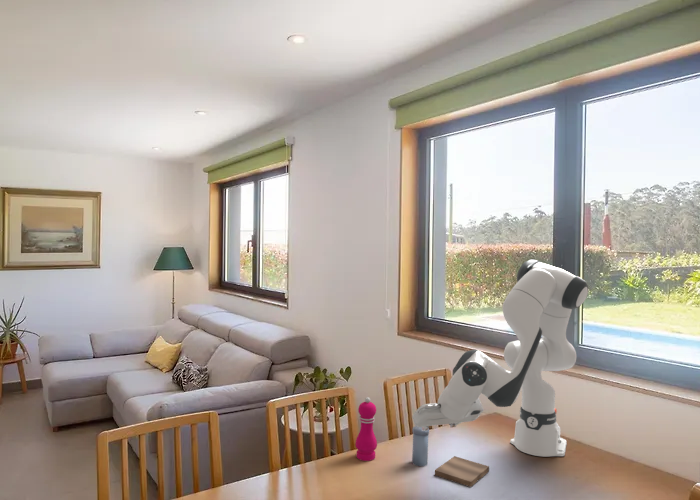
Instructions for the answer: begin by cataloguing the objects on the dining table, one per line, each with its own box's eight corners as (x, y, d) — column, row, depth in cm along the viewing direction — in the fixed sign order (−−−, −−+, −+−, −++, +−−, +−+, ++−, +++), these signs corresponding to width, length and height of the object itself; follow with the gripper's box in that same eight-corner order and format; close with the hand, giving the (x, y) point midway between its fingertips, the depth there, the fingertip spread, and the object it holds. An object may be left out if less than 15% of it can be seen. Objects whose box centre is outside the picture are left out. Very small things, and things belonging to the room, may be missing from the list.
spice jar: (416, 458, 173) (417, 424, 173) (431, 462, 169) (432, 428, 169) (408, 463, 168) (409, 429, 168) (423, 467, 165) (424, 433, 165)
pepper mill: (374, 462, 168) (376, 401, 168) (353, 460, 169) (355, 399, 169) (378, 454, 175) (380, 395, 175) (357, 451, 176) (359, 393, 176)
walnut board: (454, 460, 171) (454, 456, 171) (489, 471, 164) (489, 466, 164) (434, 475, 160) (434, 470, 160) (470, 487, 153) (471, 481, 153)
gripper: (424, 416, 143) (410, 440, 152) (488, 410, 150) (470, 433, 159) (417, 396, 148) (403, 420, 157) (480, 390, 154) (463, 414, 163)
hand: (438, 426), depth 158 cm, fingers open, 8 cm apart
